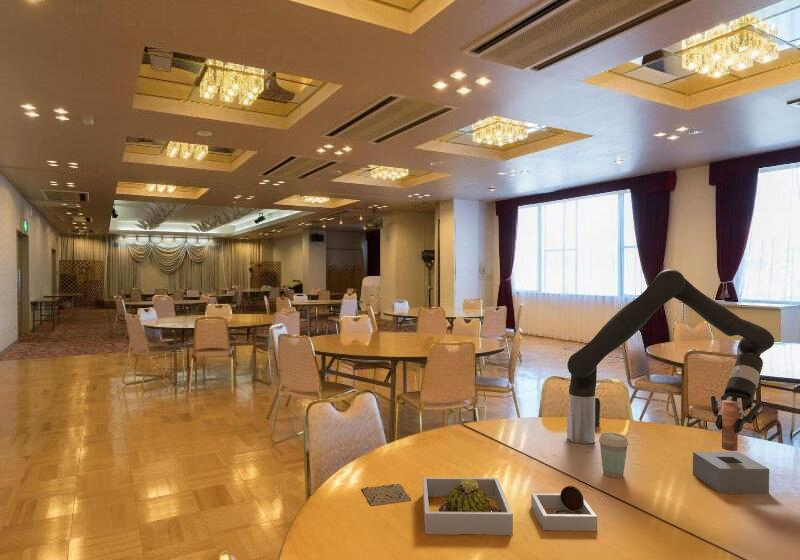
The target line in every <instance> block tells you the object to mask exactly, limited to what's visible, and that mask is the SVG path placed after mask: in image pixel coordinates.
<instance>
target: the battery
mask: <svg viewBox="0 0 800 560" xmlns="http://www.w3.org/2000/svg"><path fill="white" fill-rule="evenodd" d="M600 416H601V400H600V398H599V397H597V396H595V426H599V425H600V418H601V417H600Z"/></svg>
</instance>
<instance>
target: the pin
mask: <svg viewBox="0 0 800 560" xmlns="http://www.w3.org/2000/svg"><path fill="white" fill-rule="evenodd" d="M721 407H722V429H721V449H723V450H725V451H727V452H738V450H739V448H738V445H739V444H738V443H739V441H738V440H739V437H738V436H739V433H738V434H737V433H735V432H734V426H735V423H736V420H737V419H738V402H735V401H730V400H723V401H721Z"/></svg>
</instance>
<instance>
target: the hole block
mask: <svg viewBox="0 0 800 560" xmlns="http://www.w3.org/2000/svg"><path fill="white" fill-rule="evenodd" d="M692 475H694V476H695V477H696V478H698V479H699V480H701V481H702V482H704V483H705V484H706V485H707V486H709V487H711V488H712V489H713V490H714V491H716V492H717V493H718V494H770V468H769V467H767V466H765V465H763V464H761V463H759V462H757V461H756V460H753V459H752V458H750V457H749V456H746V455H745V454H743V453H741V452H739V451H692Z"/></svg>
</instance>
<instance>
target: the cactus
mask: <svg viewBox="0 0 800 560" xmlns="http://www.w3.org/2000/svg"><path fill="white" fill-rule="evenodd" d="M464 478H465V479H462V480H461V481H460V483H461V484H460V485H459V486H458V485H456V486H457V487H454V488H453V489H452V490H451V491H450V492H449V493H448V495H447V496H446V497H445V501H444V502H442V503H441V505H440V506H439V508H438V512H491V511H492V512H501V511H500V509H499V508H498V506H495V505H493V504H491V501H490V500H489V499H488V498H489V497H488V496H487V495H486V494H485V493H483V490H481V489H479V485H478V483H477V481H475V480H474V479H473V480H471V479H466V478H467V477H464ZM477 488H478V489H477Z"/></svg>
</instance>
